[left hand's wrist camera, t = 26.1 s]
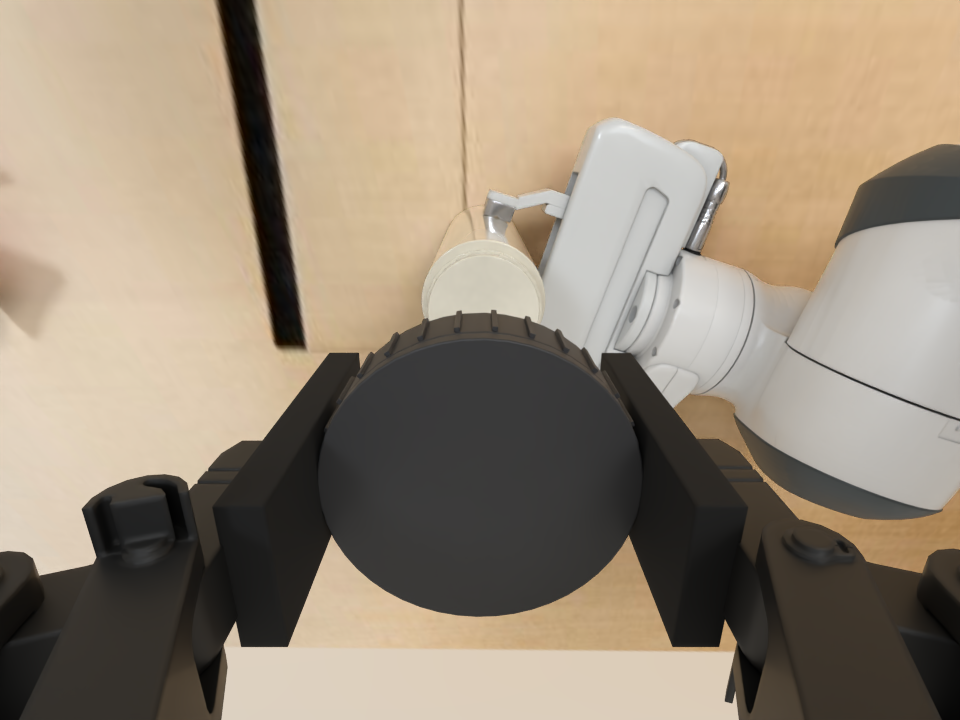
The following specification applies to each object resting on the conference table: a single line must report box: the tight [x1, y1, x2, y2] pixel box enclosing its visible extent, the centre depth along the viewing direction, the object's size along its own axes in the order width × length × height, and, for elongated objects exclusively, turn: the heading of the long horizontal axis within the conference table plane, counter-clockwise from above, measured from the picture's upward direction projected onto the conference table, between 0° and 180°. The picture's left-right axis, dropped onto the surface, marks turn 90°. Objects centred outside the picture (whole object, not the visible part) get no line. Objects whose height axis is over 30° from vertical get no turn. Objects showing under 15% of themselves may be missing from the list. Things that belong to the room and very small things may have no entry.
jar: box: [421, 205, 546, 324], centre depth 31 cm, size 6×6×19 cm
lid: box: [317, 310, 643, 617], centre depth 11 cm, size 6×6×2 cm
